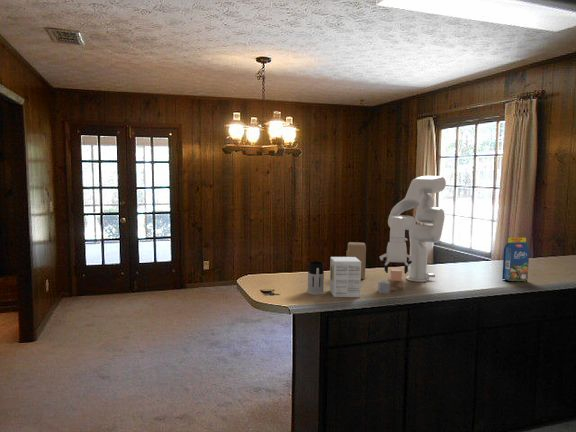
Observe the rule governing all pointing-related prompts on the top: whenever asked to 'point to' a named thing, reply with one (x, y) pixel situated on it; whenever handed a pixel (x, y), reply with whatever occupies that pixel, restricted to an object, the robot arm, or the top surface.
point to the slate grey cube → (383, 287)
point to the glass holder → (316, 278)
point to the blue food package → (516, 260)
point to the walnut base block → (396, 284)
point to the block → (358, 254)
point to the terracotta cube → (396, 275)
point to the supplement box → (345, 276)
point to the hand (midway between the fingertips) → (396, 272)
